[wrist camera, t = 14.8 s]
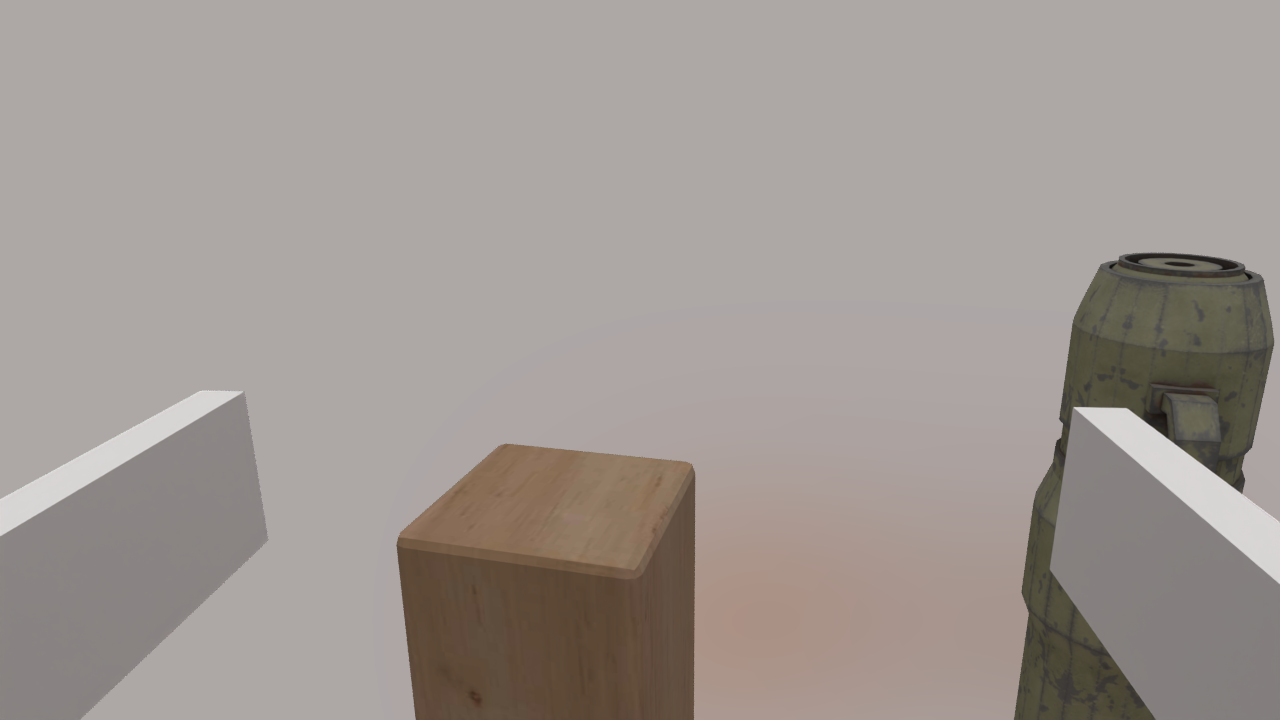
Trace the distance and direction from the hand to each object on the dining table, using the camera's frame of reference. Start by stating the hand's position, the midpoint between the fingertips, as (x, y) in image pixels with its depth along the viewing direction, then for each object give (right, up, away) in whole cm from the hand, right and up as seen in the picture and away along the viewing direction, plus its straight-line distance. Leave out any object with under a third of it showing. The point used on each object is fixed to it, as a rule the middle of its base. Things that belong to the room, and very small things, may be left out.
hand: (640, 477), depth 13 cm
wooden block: (-3, -23, +28) cm, 36 cm away
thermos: (+24, -28, +33) cm, 49 cm away
